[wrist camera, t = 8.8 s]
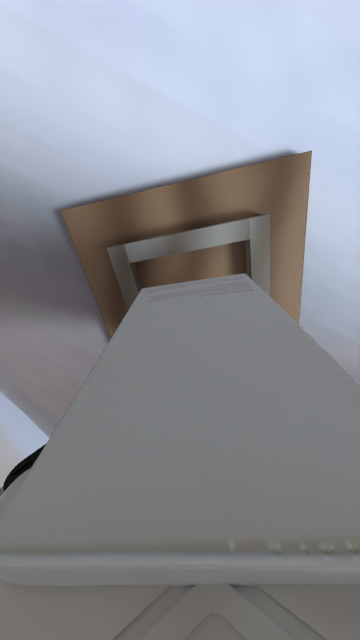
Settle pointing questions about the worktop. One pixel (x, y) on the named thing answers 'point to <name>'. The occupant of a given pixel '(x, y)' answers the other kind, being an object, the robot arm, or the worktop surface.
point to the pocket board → (198, 235)
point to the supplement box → (197, 454)
